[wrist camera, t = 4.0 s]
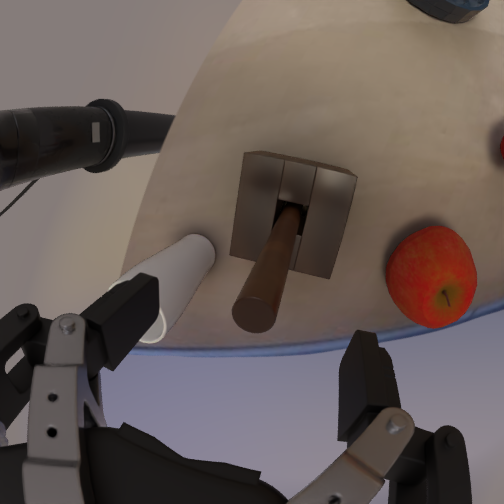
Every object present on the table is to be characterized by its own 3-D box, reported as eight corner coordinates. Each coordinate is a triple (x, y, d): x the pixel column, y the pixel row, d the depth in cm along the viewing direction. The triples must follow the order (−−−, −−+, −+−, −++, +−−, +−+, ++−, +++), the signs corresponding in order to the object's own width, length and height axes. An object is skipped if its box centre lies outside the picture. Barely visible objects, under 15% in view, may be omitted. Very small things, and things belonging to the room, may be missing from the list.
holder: (246, 233, 33) (229, 255, 27) (259, 150, 29) (244, 152, 23) (327, 252, 32) (329, 279, 26) (348, 169, 28) (357, 176, 22)
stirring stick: (286, 207, 31) (229, 327, 11) (289, 192, 30) (234, 292, 11) (301, 211, 31) (270, 338, 11) (305, 196, 30) (279, 303, 10)
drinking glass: (232, 259, 35) (181, 330, 22) (196, 283, 38) (140, 352, 24) (199, 216, 34) (128, 266, 20) (166, 244, 37) (95, 299, 23)
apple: (421, 199, 27) (463, 225, 17) (468, 255, 27) (508, 295, 18) (363, 264, 31) (379, 314, 22) (414, 311, 32) (437, 364, 22)
